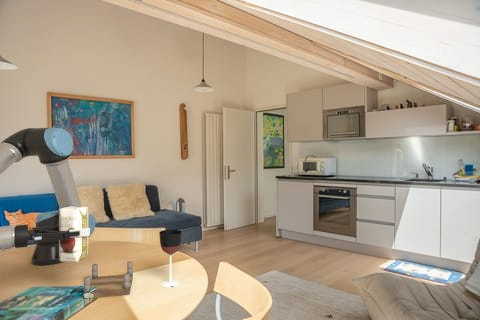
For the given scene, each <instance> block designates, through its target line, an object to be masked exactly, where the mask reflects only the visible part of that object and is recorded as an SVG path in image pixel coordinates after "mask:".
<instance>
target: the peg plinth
mask: <svg viewBox="0 0 480 320" xmlns="http://www.w3.org/2000/svg"><path fill="white" fill-rule="evenodd" d="M133 264H134V263H133V261H131V260H129V261H127V264H126V265H127V270H126V273H123V274H111V275H110V274H109V275H99V276H98V274H99V273H98V269H99V267H98V266H99V263H94V264H92V265H91V276H90V275H89V276H85V277H84V278H83V284H84V285H83V295H84V294H85V293H89V292H90V289H93V288H94V287H97V289H96V290H94V291H92V292H90V293H91V294H93V295H94V297H95V298H94V299H98V298H100V299H101V298H108V297H109V298H111V297H119V296H129V295H130V294H131V290H132V289H131V288H132V284H133V279H134V274H133V269H134V268H133Z"/></svg>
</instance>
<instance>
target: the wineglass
mask: <svg viewBox="0 0 480 320" xmlns="http://www.w3.org/2000/svg"><path fill="white" fill-rule="evenodd" d="M181 242H182V231H181V230H179V229H165V230H160V231H159V243H160V248H161V250H162V251H163V252H164V253H166V254H167V255H169V269H168V270H169V280H168V279H167V280H168V281H167V280H164V281H162V282H161V283H160V286H161V287H163V288H172V287H171V286H175V285H178V283H179V282H180V281H179V280H177V281H175V279H172V255H174V254H175V253H177V252H178V251H179V249H180V247H181V244H182V243H181ZM178 281H179V282H178ZM178 286H179V285H178ZM175 287H176V286H175Z"/></svg>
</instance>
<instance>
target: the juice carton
mask: <svg viewBox="0 0 480 320" xmlns="http://www.w3.org/2000/svg"><path fill="white" fill-rule="evenodd" d="M88 209H89V208H88V206H83V207H73V206H70V207H65V208H61V209H60V208H59V210H60V213H59V231H69V230H72V229H82V228H88V214H89V210H88ZM88 252H89V238H88V236H82V237H73V238H69V240H68V241H67V240H59V258H60V261H62V262H61V263H63V262H65V263H66V262H67V263H79V262H81V261H82V260H84V259H86V258H88V255H89V253H88Z"/></svg>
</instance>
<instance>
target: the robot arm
mask: <svg viewBox="0 0 480 320" xmlns="http://www.w3.org/2000/svg"><path fill="white" fill-rule="evenodd" d="M73 151H74V139H73V137H72V136H71V134H70V133H69V132H68V131H67V130H65V129H64V128H61V127H60V128H59V127H53V126H52V127H28V128H23V129H21V130H18V131H16V132H15V133H13V134H11V135H9V136H8V137H6V138H5V139H4V140H2V141H1V142H0V175H2V174H3V173H4V172H5V171H7V169H9V168H10V167H11V166H12V165H13V164H14V163H19V162H20V161H22V160H23V159H24V158H28V157H38V160H39V163H40V164H41V165H44V166H45V167H46V170H47V174H48V176H49V180H50V182H51V183H50V184H51V185H52V189H53V192H54V194H55V197H56V201H57V204H58V207H59V210H53V211H51V210H50V211H46V212H41V213H39V214H37V215H36V219H35V227H33V229H29V225H28V224H16V225H15V226H13V225H2V226H0V251H1V252H5V251H6V250H11V249H13V247H14V248H16V249H21V248H28V246H29V241H33V243H35V248H34V251H33V254H32V257H31V264H32V265H34V266H49V265H56V264H59V263H63V262H62V261H60V258H59V240H67V241H68V240H69V238H73V237H82V236H88V239H89V238H91V236H92V235H93V233H94V232H95V228H96V217H95V216H94V215H93V214H91V213H90V214H89V213H88V228H82V229H72V230H69V231H59V213H60V209H61V208H65V207H70V206H73V207H84V205H82V203H81V199H80V195H79V192H78V189H77V186H76V182H75V179H74V176H73V172H72V169H71V165H70V163H69V159H70V158H71V154H72V152H73Z"/></svg>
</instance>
